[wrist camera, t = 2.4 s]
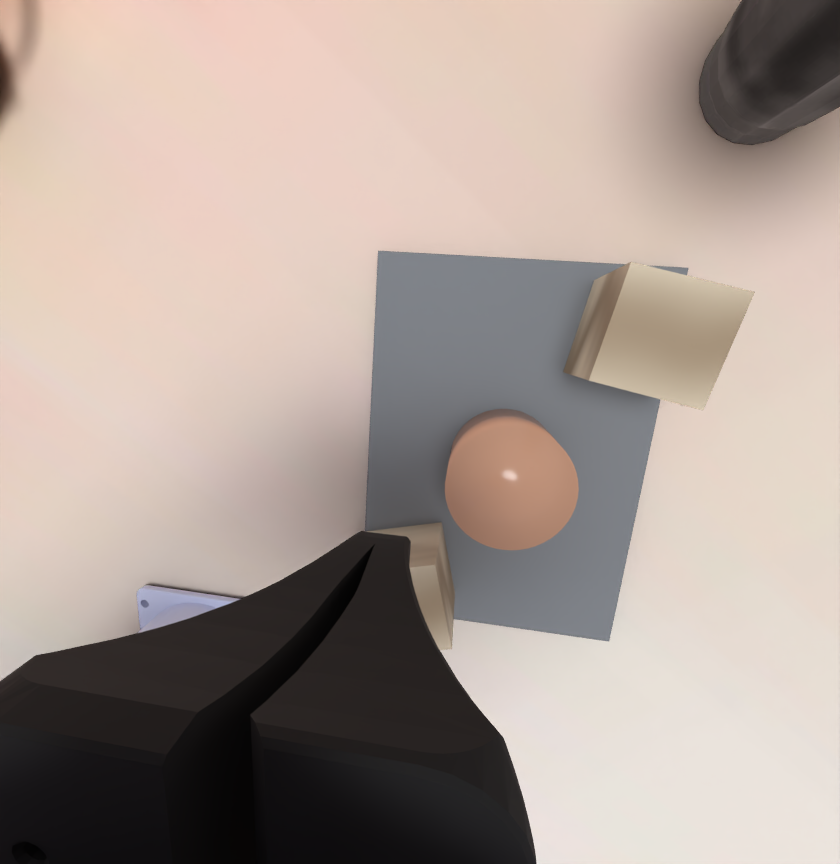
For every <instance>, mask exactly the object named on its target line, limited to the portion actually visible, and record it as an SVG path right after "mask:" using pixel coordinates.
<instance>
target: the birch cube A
mask: <svg viewBox="0 0 840 864" xmlns="http://www.w3.org/2000/svg"><path fill="white" fill-rule="evenodd" d="M366 532H373V533H382V534H390V535H398V536H406V537H408V538H409V540H410V541H411V548H410V563H409V567H410V572H411V577H412V582H413V586H414V590H415V593H416V596H417V599H418V603H419V606H420V608H421V611H422V614H423V616H424V619H425V621H426V623H427V626H428V628H429V630H430V632H431V634H432V636H433V638H434V640H435V642H436V644H437V646H438V648H439V650H446V649H452V636H453V618H454V601H455V590H454V585H453V579H452V574H451V569H450V563H449V558H448V553H447V548H446V542H445V537H444V532H443V526H442V522H439V523H431V524H423V525H415V526H407V527H398V528H390V529H382V530H374V531H366Z"/></svg>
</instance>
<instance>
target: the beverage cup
mask: <svg viewBox="0 0 840 864" xmlns="http://www.w3.org/2000/svg"><path fill="white" fill-rule="evenodd" d="M699 89H700V105H701V108H702V111H703V114H704V116H705V119H706V121H707V122H708V124H709V125H710V126H711V127H712V128H713V129H714V131H715V132H716V133H717V134H718V135H720V136H722V137H724V138H726V139H728V140H730V141H731V142H733V143H742V144H751V145H753V144H758V143H762V142H767V141H772V140H774V139H776V138H778V137H779V136H781V135H783V134H785V133H787V132H789V131H791V130H792V129H795V128H797V127H799V126H803V125H806V124H808V123H810V122H812V121H814V120H816V119H817V118H819V117H821V116H823V115H825V114H827V113H829V112H831V111H833V110H835V109H836V108H838V107H840V0H742V1H741V3H740V4H739V6H738V7H737V9H736V11H735V13H734V14H733V16H732V18H731V20H730V21H729V23H728V25H727V27H726V28H725V31H724V33H723V34H722V35H721V36H720V38H719V39H718V40H717V41H716V43H715V45H714V47H713V48H712V50H711V52H710V53H709V55H708V57H707V59H706V60H705V64H704V67H703V71H702V75H701V78H700V82H699Z"/></svg>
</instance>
